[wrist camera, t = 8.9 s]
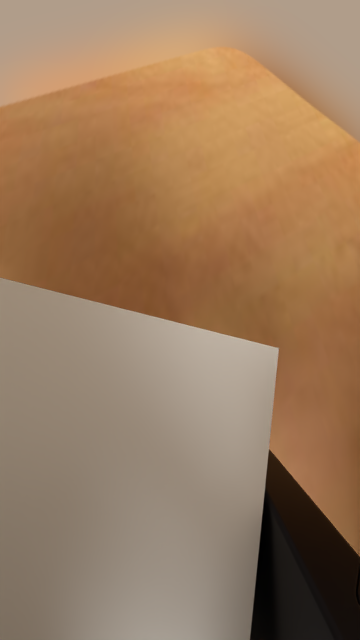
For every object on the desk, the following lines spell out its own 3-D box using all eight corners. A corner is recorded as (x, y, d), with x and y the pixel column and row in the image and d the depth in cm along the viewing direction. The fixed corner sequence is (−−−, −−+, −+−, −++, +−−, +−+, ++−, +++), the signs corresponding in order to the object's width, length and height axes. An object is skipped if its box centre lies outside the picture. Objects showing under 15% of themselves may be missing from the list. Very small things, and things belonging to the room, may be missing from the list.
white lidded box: (168, 577, 12) (234, 794, 4) (9, 539, 12) (-250, 685, 4) (200, 414, 15) (279, 348, 7) (68, 381, 15) (-18, 273, 7)
